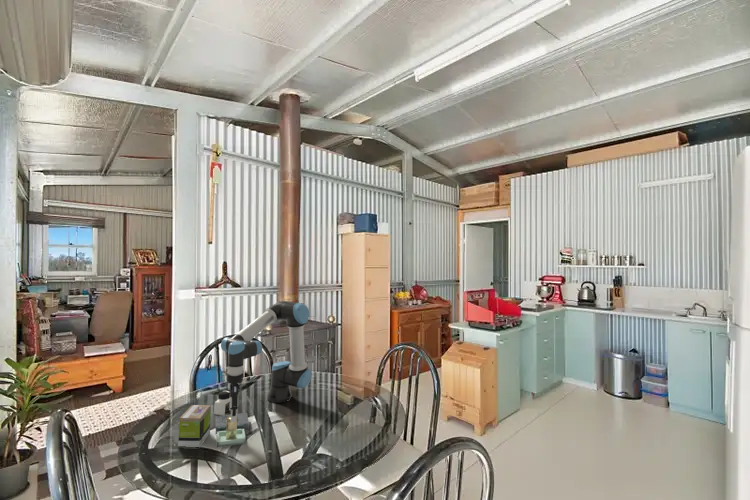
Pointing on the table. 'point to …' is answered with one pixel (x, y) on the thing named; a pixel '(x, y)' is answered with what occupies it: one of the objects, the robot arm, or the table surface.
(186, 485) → the table surface
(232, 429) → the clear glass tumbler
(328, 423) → the table surface
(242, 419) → the grey rectangular slab
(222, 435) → the parts tray
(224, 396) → the medicine bottle
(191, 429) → the tea box
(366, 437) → the table surface
